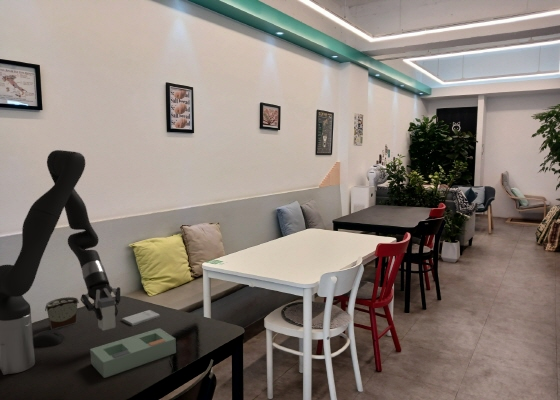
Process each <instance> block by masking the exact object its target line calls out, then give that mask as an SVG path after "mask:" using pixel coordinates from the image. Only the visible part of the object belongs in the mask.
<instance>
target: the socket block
mask: <svg viewBox="0 0 560 400" xmlns="http://www.w3.org/2000/svg"><path fill="white" fill-rule="evenodd" d="M176 343H177V342H176V337H174V336H172V335H170V334H169V333H167V331H164V330H163V329H162V328H160V327H158V328H155V329H151V330H149V331H145V332H143V333H139V334H135V335H132V336H130V337H126V338H122V339H120V340H116V341H112V342H109V343H106V344H103V345H99V346H96V347H93V348H90V349H89V351H90V353H89V354H90V364H91V365H92V366H93V368H94V369H95V370H96V371H97V372H98V373H99V374H100V375H101V376H102V377H103V378H104V379H105V378H108V377H111V376H114V375H117V374H119V373H123V372H126V371H128V370H131V369H135V368H136V367H139V366H140V367H141V366H142V365H145V364H149V363H151V362H153V361H157V360H160V359H162V358H165V357H168V356H171V355H173V354H177V344H176Z"/></svg>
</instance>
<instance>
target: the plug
mask: <svg viewBox="0 0 560 400" xmlns="http://www.w3.org/2000/svg"><path fill="white" fill-rule="evenodd" d="M98 304H99V308H100V310H101V313H102V316H103V319H102V320H99V319H97V323H98V324H97V327H98V329H100V330H102V331H107V330H111V329H115V328H116V325H117V324H116V317H115V298H114V297H113V298H111V297H106V298H101V299H99V300H98Z"/></svg>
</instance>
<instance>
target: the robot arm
mask: <svg viewBox="0 0 560 400" xmlns="http://www.w3.org/2000/svg"><path fill="white" fill-rule="evenodd" d="M46 165H47V169H48V172H49V174H50V177H51V179H52V182H53V186H52V187H51V188H50V189H48V190H47V191H46V192H44V194H42V195H41V196H39V198H37V199H36V200H35V201H34V203H32V205H31V206H30V208H29V210H28V212H27V214H26V216H25V218H24V220H23V223H22V227H21V228H22V230H21V236H22V241H21V242H22V244H21V249H20V251H19V253H18V254H19V255H17V258H16V260H15V263H13V264H2V265H0V371H1V373H2V375H4V376H5V375H9V374H10V375H12V374H18V373H21V372H24V371H27V370H29V369H31V368H32V367H33V366H35V364H36V359H35V346H34V345H33V337H34V336H33V334H34V333H33V324H32V323H33V322H32V312H31V310H32V308H31V304H30V303H29V302H28V301H27V300H26V299H25V298H24V295H25V294H27V293H28V292H29V291H30V290H31V288H32V286H33V284H34V281H35V279H36V276H37V273H38V270H39V267H40V265H41V262H42V258H43V256H44V253H45V251H46V248H47V247H48V243H49V241H50V239H51V237H52V234H53V233H54V231H55V229H56V227H57V224H58V222H59V220H60V219H61V215H62V213H63V211H65V214H66V219H67V223H68V226H69V228H70V229H71V230H73V231H75V230H76V231H78V232H74V233H72V234H70V235H69V236H68V238H67V245H68V247H69V248H70V250H71V252H73V253H74V255H75V256H76V258H77V259H78V262H79V266H80V269H81V274H82V277H83V281H84V283H85V287H86V290H87V293H86V294H84V293H83V294H81V296H80V301H81V302H82V304H83V305H84V306H85V308H86V309H87V311H88V312H94V314H95V316H96V319H97V320H98V319H99V320H102V319H103V316H102V313H101V310H100V308H99V304H98V300H99V299H101V298H106V297H111V298H113V299H114V300H115V318H116V317H117V315H118V314H119V309H118V307H117V306H119V304H120V302H121V287H117V288H114V287H112V286H111V285H110V281H109V278H108V276H107V273H106V270H105V267H104V265H103V263H102V261H101V258H100V254H99V253H98V251H97V250H96V249H93V248H96V246H97V245H98V244H99V236H98V234H97V233H96V231H95V229H94V227H92V225H91V221H90V219H89V215H88V209H87V205H86V203H85V202H84V200H83V199H82V197H81V196H80V194H79V193H78V192H77V191H76V189H75V188H76V186H77V184H78V182H79V181H80V179H81V177H82V175H83V173H84V171H85V169H86V168H85V167H86V157H85V156H84V155H83V154H82V153H81V152H77V151H69V150H61V149H56V150H55V149H54V150H52V151H51V152H50V153H49V154H48V156H47V159H46ZM79 230H82V231H79ZM112 293H113V295H114V297H113V295H112ZM89 299H91V300H93V303H92V302H91V301H90V300H89Z"/></svg>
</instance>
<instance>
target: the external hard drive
mask: <svg viewBox="0 0 560 400" xmlns="http://www.w3.org/2000/svg"><path fill="white" fill-rule="evenodd" d="M160 317H161V315H160V314H159V313H157V312H155V311H153V310H151V309H148V310H145V311H142V312H138V313H135V314H132V315H129V316H125V317H123V318H121V321H122V322H124V323H125V324H127V325H130V326H136V325H139V324H142V323H144V322H145V323H146V322H147V321H151V320H154V319H157V318H160Z"/></svg>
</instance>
